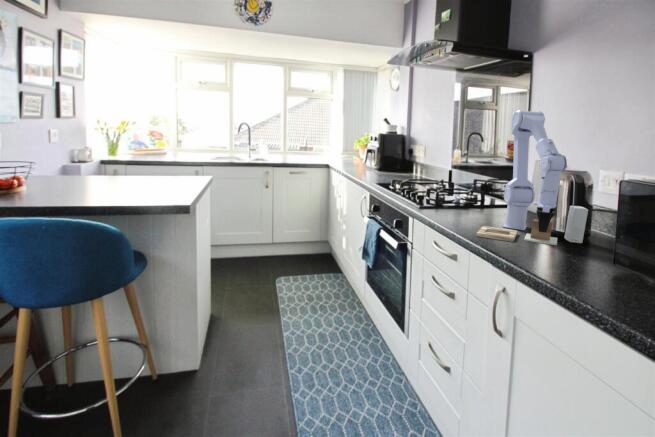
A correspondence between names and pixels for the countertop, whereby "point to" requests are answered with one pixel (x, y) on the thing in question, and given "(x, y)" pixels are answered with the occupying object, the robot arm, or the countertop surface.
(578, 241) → the skincare box
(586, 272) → the countertop surface
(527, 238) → the sage tile
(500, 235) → the pocket plate
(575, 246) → the countertop surface
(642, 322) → the countertop surface
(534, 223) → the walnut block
